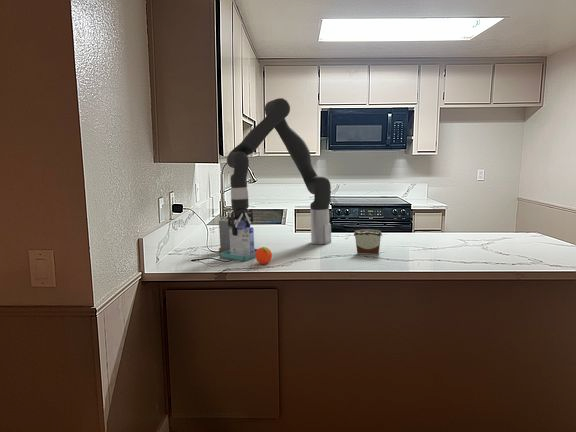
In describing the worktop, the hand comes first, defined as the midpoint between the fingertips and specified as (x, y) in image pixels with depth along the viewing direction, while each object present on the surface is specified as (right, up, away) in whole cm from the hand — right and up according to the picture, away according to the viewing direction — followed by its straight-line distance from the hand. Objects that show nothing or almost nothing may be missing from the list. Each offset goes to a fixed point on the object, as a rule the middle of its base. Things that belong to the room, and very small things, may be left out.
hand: (241, 233), depth 181 cm
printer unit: (-5, -8, +15) cm, 18 cm away
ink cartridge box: (0, -10, +2) cm, 10 cm away
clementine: (+11, -12, -13) cm, 21 cm away
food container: (+57, -9, 0) cm, 57 cm away
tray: (0, -10, +1) cm, 10 cm away
